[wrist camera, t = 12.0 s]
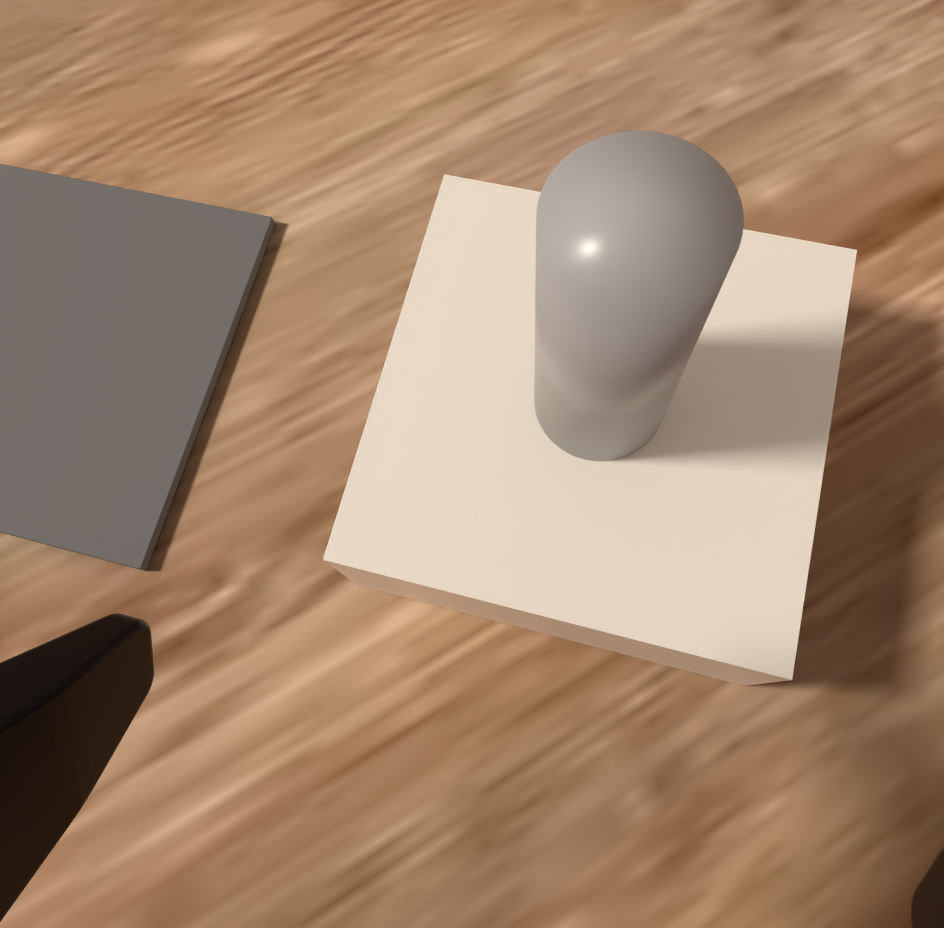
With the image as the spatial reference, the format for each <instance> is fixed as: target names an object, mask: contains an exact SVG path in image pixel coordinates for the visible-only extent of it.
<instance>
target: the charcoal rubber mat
mask: <svg viewBox="0 0 944 928" xmlns="http://www.w3.org/2000/svg"><path fill="white" fill-rule="evenodd" d="M274 227H275V222H274V220H273V219H272V217H268V216H263V215H258V214H253V213H248V212H243V211H238V210H233V209H227V208H222V207H217V206H212V205H207V204H202V203H197V202H192V201H187V200H182V199H176V198H171V197H166V196H161V195H156V194H151V193H146V192H141V191H136V190H131V189H125V188H120V187H115V186H110V185H105V184H100V183H95V182H90V181H85V180H80V179H74V178H69V177H64V176H59V175H54V174H49V173H44V172H39V171H34V170H29V169H23V168H18V167H13V166H8V165H3V164H0V532H1V533H5V534H9V535H13V536H16V537H20V538H24V539H28V540H32V541H35V542H39V543H43V544H47V545H50V546H54V547H58V548H62V549H65V550H69V551H73V552H77V553H80V554H84V555H88V556H92V557H95V558H99V559H103V560H107V561H110V562H114V563H118V564H122V565H125V566H129V567H133V568H137V569H140V570H144V571H146V570H147V567H148V564H149V562H150V559H151V556H152V554H153V551H154V548H155V546H156V543H157V540H158V538H159V535H160V532H161V530H162V527H163V524H164V522H165V519H166V516H167V514H168V511H169V508H170V506H171V503H172V500H173V497H174V495H175V492H176V489H177V487H178V484H179V481H180V479H181V476H182V473H183V471H184V468H185V465H186V463H187V460H188V457H189V455H190V452H191V449H192V447H193V444H194V441H195V438H196V436H197V433H198V430H199V428H200V425H201V422H202V420H203V417H204V414H205V412H206V409H207V406H208V404H209V401H210V398H211V396H212V393H213V390H214V388H215V385H216V382H217V379H218V377H219V374H220V371H221V369H222V366H223V363H224V361H225V358H226V355H227V353H228V350H229V347H230V345H231V342H232V339H233V337H234V334H235V331H236V329H237V326H238V323H239V320H240V318H241V315H242V312H243V310H244V307H245V304H246V302H247V299H248V296H249V294H250V291H251V288H252V286H253V283H254V280H255V278H256V275H257V272H258V270H259V267H260V264H261V262H262V259H263V256H264V253H265V251H266V248H267V245H268V243H269V240H270V237H271V235H272V232H273V229H274Z"/></svg>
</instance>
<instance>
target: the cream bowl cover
mask: <svg viewBox="0 0 944 928" xmlns="http://www.w3.org/2000/svg"><path fill="white" fill-rule="evenodd" d="M743 227H744V217H743V208H742V203H741V199H740V196H739V193H738V191H737V188H736V186H735V185H734V183H733V181H732V179H731V177H730V176H729V175H728V173H727V172H726V171H725V169H724V168H723V167H722V166H721V165H720V164H719V163H718V162H717V161H716V160H715V159H714V158H713V157H712V156H710V155H709V154H708V153H707V152H705V151H704V150H702V149H701V148H699V147H698V146H696V145H694V144H692V143H690V142H688V141H686V140H683V139H681V138H678V137H675V136H672V135H668V134H663V133H659V132H650V131H627V132H619V133H614V134H609V135H606V136H603V137H600V138H597V139H594V140H592V141H590V142H588V143H586V144H583V145H582V146H580V147H579V148H577V149H575V150H574V151H572V152H571V153H570V154H569V155H567V156H566V157H565V158H564V159H563V160H562V161H561V162H560V163H559V164H558V165H557V166H556V167H555V168H554V170H553V171H552V173H551V174H550V175H549V177H548V178H547V180H546V182H545V184H544V186H543V188H542V191H541V192H537V191H531V190H526V189H521V188H515V187H510V186H504V185H499V184H493V183H488V182H482V181H477V180H471V179H466V178H460V177H455V176H450V175H444V177H443V180H442V183H441V187H440V190H439V193H438V196H437V199H436V203H435V206H434V209H433V212H432V215H431V218H430V222H429V225H428V228H427V231H426V234H425V237H424V241H423V244H422V247H421V250H420V253H419V256H418V260H417V263H416V266H415V269H414V272H413V275H412V279H411V282H410V285H409V288H408V291H407V294H406V298H405V301H404V304H403V307H402V310H401V314H400V317H399V320H398V323H397V326H396V329H395V333H394V336H393V339H392V342H391V345H390V348H389V352H388V355H387V358H386V361H385V364H384V367H383V371H382V374H381V377H380V380H379V383H378V386H377V390H376V393H375V396H374V399H373V402H372V406H371V409H370V412H369V415H368V418H367V421H366V425H365V428H364V431H363V434H362V437H361V440H360V444H359V447H358V450H357V453H356V456H355V459H354V463H353V466H352V469H351V472H350V475H349V478H348V482H347V485H346V488H345V491H344V494H343V497H342V501H341V504H340V507H339V510H338V513H337V517H336V520H335V523H334V526H333V529H332V532H331V536H330V539H329V542H328V545H327V548H326V551H325V555H324V558H323V560H324V561H325V562H327V563H328V564H329V565H331V566H332V567H334V568H335V569H336V570H338V571H339V572H340V573H342V574H343V575H345V576H346V577H347V578H349V579H350V580H351V581H353V582H354V583H355V584H357V585H358V586H362V587H365V588H369V589H373V590H377V591H381V592H385V593H389V594H392V595H396V596H400V597H404V598H408V599H412V600H416V601H419V602H423V603H427V604H431V605H435V606H439V607H442V608H446V609H450V610H454V611H458V612H462V613H466V614H469V615H473V616H477V617H481V618H485V619H489V620H493V621H496V622H500V623H504V624H508V625H512V626H516V627H519V628H523V629H527V630H531V631H535V632H539V633H543V634H546V635H550V636H554V637H558V638H562V639H566V640H570V641H573V642H577V643H581V644H585V645H589V646H593V647H597V648H600V649H604V650H608V651H612V652H616V653H620V654H623V655H627V656H631V657H635V658H639V659H643V660H647V661H650V662H654V663H658V664H662V665H666V666H670V667H674V668H677V669H681V670H685V671H689V672H693V673H697V674H701V675H704V676H708V677H712V678H716V679H720V680H724V681H727V682H731V683H735V684H739V685H743V686H748V685H756V684H764V683H772V682H780V681H789V680H792V677H793V671H794V664H795V657H796V651H797V644H798V637H799V631H800V624H801V618H802V611H803V604H804V598H805V591H806V584H807V578H808V571H809V565H810V558H811V551H812V545H813V538H814V531H815V525H816V518H817V512H818V505H819V498H820V492H821V485H822V478H823V472H824V465H825V459H826V452H827V445H828V439H829V432H830V425H831V419H832V412H833V406H834V399H835V392H836V386H837V379H838V372H839V366H840V359H841V352H842V346H843V339H844V333H845V326H846V319H847V313H848V306H849V299H850V293H851V286H852V280H853V273H854V266H855V260H856V253H857V250H854V249H848V248H843V247H837V246H832V245H826V244H821V243H816V242H810V241H805V240H799V239H794V238H788V237H783V236H777V235H772V234H766V233H761V232H755V231H750V230H745V229H743Z"/></svg>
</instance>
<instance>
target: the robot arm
mask: <svg viewBox="0 0 944 928" xmlns="http://www.w3.org/2000/svg"><path fill="white" fill-rule="evenodd" d="M153 677H154V664H153V651H152V639H151V630H150V627H149V625H148V623H147V622H145V621H144V620H141V619H137V618H134V617H130V616H126V615H123V614H111V615H108V616H106V617H103V618H101V619H99V620H97V621H94V622H92V623H90V624H87V625H85V626H83V627H81V628H78V629H76V630H74V631H72V632H69V633H67V634H65V635H62V636H60V637H58V638H56V639H53V640H51V641H49V642H47V643H44V644H42V645H40V646H38V647H35V648H33V649H31V650H28V651H26V652H24V653H22V654H19V655H17V656H15V657H13V658H10V659H8V660H6V661H3V662H1V663H0V922H1V920H2V919H3V917H4V916H5V915H6V913H7V912H8V910H9V909H10V908H11V906H12V905H13V903H14V902H15V901H16V899H17V898H18V897H19V895H20V894H21V892H22V891H23V890H24V888H25V887H26V885H27V884H28V883H29V881H30V880H31V878H32V877H33V876H34V874H35V873H36V871H37V870H38V869H39V867H40V866H41V864H42V863H43V862H44V860H45V859H46V857H47V856H48V855H49V853H50V852H51V850H52V849H53V848H54V846H55V845H56V843H57V842H58V841H59V839H60V838H61V836H62V835H63V834H64V832H65V831H66V829H67V828H68V827H69V825H70V824H71V822H72V821H73V819H74V818H75V816H76V815H77V814H78V812H79V811H80V809H81V808H82V806H83V805H84V803H85V801H86V800H87V798H88V796H89V795H90V793H91V791H92V790H93V788H94V786H95V785H96V783H97V781H98V779H99V778H100V776H101V774H102V773H103V771H104V769H105V767H106V766H107V764H108V762H109V760H110V759H111V757H112V755H113V753H114V752H115V750H116V748H117V746H118V745H119V743H120V741H121V739H122V738H123V736H124V734H125V732H126V731H127V729H128V727H129V725H130V724H131V722H132V720H133V718H134V717H135V715H136V713H137V711H138V710H139V708H140V706H141V704H142V703H143V701H144V699H145V697H146V696H147V694H148V692H149V690H150V687H151V685H152V681H153ZM911 920H912V928H944V848H943V849H942V850H941V851H940V853H939V854H938V856H937V857H936V859H935V860H934V862H933V863H932V865H931V866H930V868H929V869H928V871H927V873H926V874H925V876H924V877H923V879H922V880H921V882H920V883H919V885H918V886H917V888H916V890H915V892H914V895H913V898H912V904H911Z"/></svg>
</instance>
